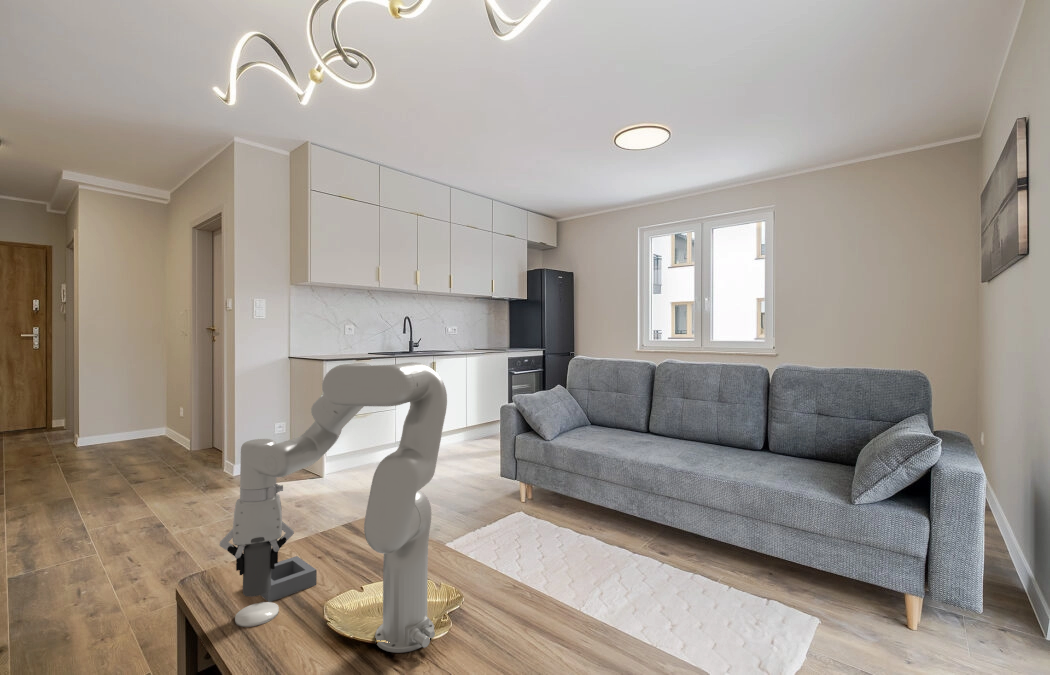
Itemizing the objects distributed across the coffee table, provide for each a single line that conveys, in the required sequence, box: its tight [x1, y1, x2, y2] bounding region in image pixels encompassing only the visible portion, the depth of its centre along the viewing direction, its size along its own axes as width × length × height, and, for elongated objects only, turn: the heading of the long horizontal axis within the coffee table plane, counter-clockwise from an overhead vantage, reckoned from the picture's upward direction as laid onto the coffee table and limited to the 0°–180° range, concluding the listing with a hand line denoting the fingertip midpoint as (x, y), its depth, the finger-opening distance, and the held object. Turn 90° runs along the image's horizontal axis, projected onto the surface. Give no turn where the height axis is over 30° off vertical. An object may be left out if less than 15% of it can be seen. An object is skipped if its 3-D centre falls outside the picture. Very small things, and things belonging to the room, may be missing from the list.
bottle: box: [242, 537, 272, 598], centre depth 115 cm, size 6×6×15 cm
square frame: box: [260, 555, 318, 603], centre depth 130 cm, size 12×12×4 cm
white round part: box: [234, 601, 280, 628], centre depth 115 cm, size 9×9×1 cm
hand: (257, 569), depth 115 cm, fingers closed on bottle, 5 cm apart
